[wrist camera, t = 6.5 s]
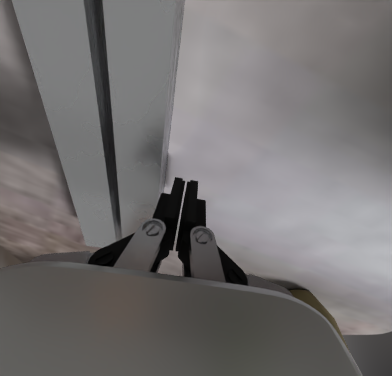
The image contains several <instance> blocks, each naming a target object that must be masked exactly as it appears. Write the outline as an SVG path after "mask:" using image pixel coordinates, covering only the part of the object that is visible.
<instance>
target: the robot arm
mask: <svg viewBox="0 0 392 376" xmlns="http://www.w3.org/2000/svg"><path fill="white" fill-rule="evenodd" d="M182 180H183V179H182V178H176V177H175V180H174V184H173V187H172V191H171V194H166V193H161V195H160V198H159V201H158V203H157V206H156V209H155V212H154V214H153V217H152V219H148V220H145V221H144V222H142V224H141V225H140V226H139V228H138V229H137V231H136V232H135V233H133V234H131V235H129V236H127V237H125V238H123V239H121V240H118V241H116V242H114V243H112V244H110V245H108V246H106V247H104V248H101V249H99V250H98V251H96V252H95V253H90V251H83V252H67V253H51V254H44V255H40V256H38V257H36V258H34V259H33V260H31V261H30V262H28V263H22V264H16V265H12V266H7V267H3V268H0V376H362V374H361V372H360V370H359V368H358V367H357V365H356V363H355V361H354V359H353V358H352V356H351V354H350V352H349V351H348V349H347V347H346V346H345V344H344V342H343V341H342V339H341V337H340V336H339V334H338V333H337V331H336V330H335V329H334V327H333V326H332V324H331V323H330V322H329V321H328V320H327V319H326V318H325V317H324V316H323V315H322V314H321V313H320V312H318V311H317V310H316V309H314V308H313V307H311V306H310V305H308V304H306V303H304V302H303V301H301V300H299V299H297V298H295V297H293V295H292V294H291V292H289V291H288V290H287V289H286V288H284V287H283V286H280V285H278V284H275V283H273V282H270V281H267V280H265V279H262V278H259V277H257V276H254V275H251V274H249V275H246V274H245V273H244V272H243V270H242V269H241V268H240V267H239V266H238V265H237V264H236V263H235V262H233V261H232V260H231V259H230V258H229V257H228V256H227V255H226V254H225V253H224V252H223V251H222V250H221V249H220V248H219V247H218V246H217V244H216V240H215V236H214V233H213V232H212V231H211V230H210V229H209V228H207V227H206V202H205V200H200V199H197V191H198V181H193V180H191V181H190V182H187V187H186V192H185V197H184V202H183V208H182V213H181V220H180V226H179V232H178V238H177V244H176V251H179V252H178V258H179V259H180V260H181V261H182V274H183V277H182V276H174V275H167V274H160V273H158V270H159V268H160V265H161V262H162V260H163V259H164V258H166V257H167V256H168V255H169V250H172V251H173V247H174V241H175V236H176V230H177V225H178V219H179V214H180V208H181V202H182V196H183V191H184V185H185V181H182Z"/></svg>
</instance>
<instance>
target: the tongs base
mask: <svg viewBox="0 0 392 376" xmlns="http://www.w3.org/2000/svg"><path fill="white" fill-rule="evenodd" d="M12 3H13V6H14V10H15V13H16V16H17V20H18V23H19V26H20V29H21V33H22V36H23V39H24V43H25V46H26V49H27V52H28V56H29V59H30V62H31V66H32V69H33V72H34V75H35V79H36V82H37V85H38V89H39V92H40V95H41V98H42V102H43V105H44V108H45V112H46V115H47V118H48V121H49V125H50V128H51V131H52V135H53V138H54V141H55V144H56V148H57V151H58V154H59V158H60V161H61V164H62V168H63V171H64V174H65V177H66V181H67V184H68V187H69V191H70V194H71V197H72V200H73V204H74V207H75V210H76V214H77V217H78V220H79V223H80V227H81V230H82V233H83V237H84V240H85V243H86V246H94V247H101V248H104V247H106V246H108V245H110V244H112V243H114V242H116V241H118V240H121V239H122V228H121V216H120V204H119V192H118V180H117V168H116V156H115V144H114V132H113V120H112V108H111V96H110V84H109V72H108V60H107V48H106V36H105V24H104V12H103V0H12Z"/></svg>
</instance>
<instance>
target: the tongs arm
mask: <svg viewBox="0 0 392 376" xmlns="http://www.w3.org/2000/svg"><path fill="white" fill-rule="evenodd" d="M184 2H185V0H103V12H104V24H105V36H106V48H107V60H108V72H109V84H110V96H111V108H112V120H113V132H114V144H115V156H116V168H117V180H118V192H119V204H120V216H121V228H122V239H123V238H125V237H127V236H129V235H131V234H133V233H135V232H136V231H137V229H138V228H139V226H140V225H141V224H142V222H144V221H145V220H148V219H152V217H153V214H154V212H155V209H156V206H157V203H158V201H159V198H160V195H161V193H163V192H164V183H165V174H166V165H167V156H168V147H169V138H170V129H171V120H172V111H173V102H174V93H175V84H176V75H177V66H178V57H179V48H180V39H181V30H182V21H183V12H184Z"/></svg>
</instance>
